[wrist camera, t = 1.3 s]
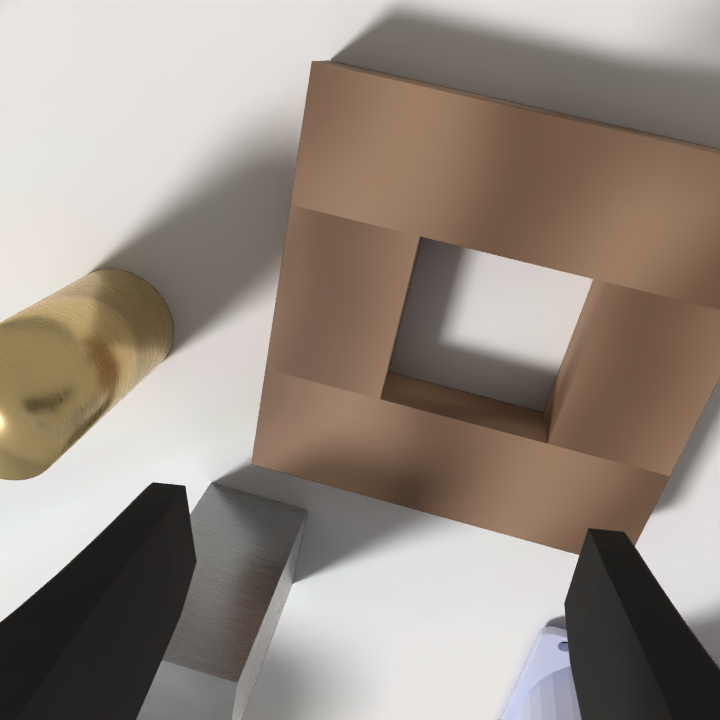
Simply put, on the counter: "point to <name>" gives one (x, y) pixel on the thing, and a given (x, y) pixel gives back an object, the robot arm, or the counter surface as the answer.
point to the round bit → (74, 364)
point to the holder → (507, 239)
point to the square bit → (227, 606)
